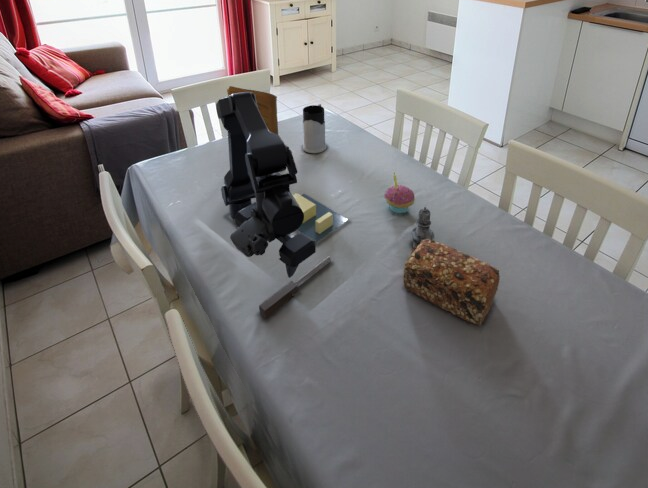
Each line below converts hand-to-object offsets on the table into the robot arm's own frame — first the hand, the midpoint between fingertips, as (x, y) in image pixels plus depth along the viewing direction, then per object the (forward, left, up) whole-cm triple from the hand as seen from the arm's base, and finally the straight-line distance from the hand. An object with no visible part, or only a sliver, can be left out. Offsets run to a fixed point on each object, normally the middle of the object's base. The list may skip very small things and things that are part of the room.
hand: (276, 264), depth 88 cm
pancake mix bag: (-49, +32, -11) cm, 60 cm away
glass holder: (-46, +55, -3) cm, 71 cm away
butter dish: (-16, +24, -11) cm, 31 cm away
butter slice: (-9, +23, -10) cm, 27 cm away
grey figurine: (+13, +36, -11) cm, 40 cm away
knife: (0, +6, -11) cm, 12 cm away
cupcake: (0, +44, -11) cm, 45 cm away
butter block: (-19, +23, -10) cm, 32 cm away
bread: (+26, +27, -11) cm, 39 cm away
